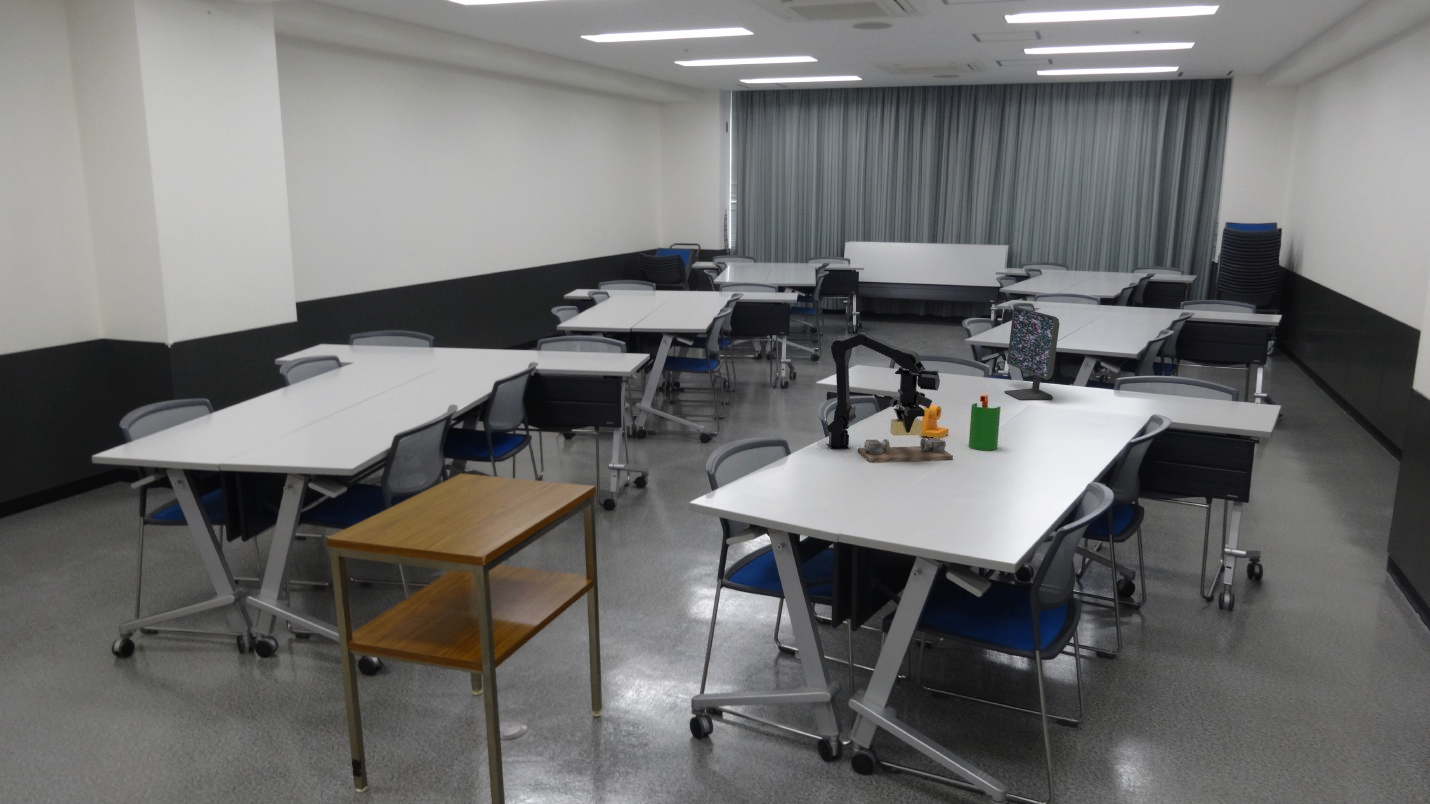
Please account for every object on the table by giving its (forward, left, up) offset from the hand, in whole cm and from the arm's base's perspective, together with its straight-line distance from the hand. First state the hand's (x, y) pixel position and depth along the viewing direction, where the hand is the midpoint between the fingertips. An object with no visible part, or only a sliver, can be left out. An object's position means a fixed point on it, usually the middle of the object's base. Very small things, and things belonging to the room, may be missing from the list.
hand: (905, 431), depth 334 cm
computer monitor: (+96, +96, -9) cm, 136 cm away
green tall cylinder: (+33, +8, -9) cm, 35 cm away
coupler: (0, 0, -1) cm, 1 cm away
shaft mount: (0, 0, -9) cm, 9 cm away
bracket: (+22, +27, -9) cm, 36 cm away
